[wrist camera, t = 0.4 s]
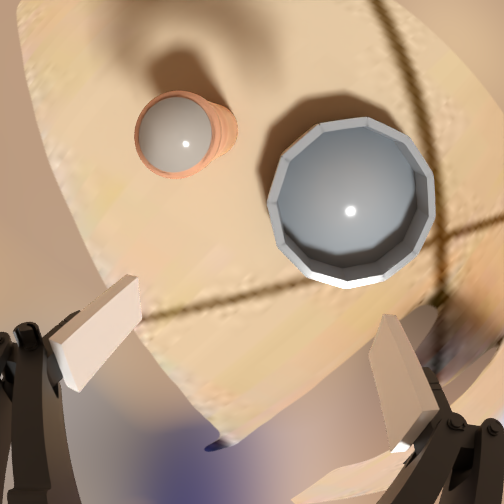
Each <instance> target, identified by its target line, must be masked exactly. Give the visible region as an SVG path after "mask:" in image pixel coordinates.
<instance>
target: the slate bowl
mask: <svg viewBox="0 0 504 504" xmlns="http://www.w3.org/2000/svg"><path fill="white" fill-rule="evenodd" d="M432 174H433V173H432V171H431V169H430V168H429V166H428V165H427V163H426V161H425V160H424V158H423V156H422V155H421V153H420V152H419V150H418V149H417V147H416V146H415V144H414V143H413V141H412V140H411V138H410V137H409V136H407V135H405V134H403V133H401V132H399V131H397V130H395V129H393V128H391V127H389V126H387V125H385V124H383V123H381V122H378V121H376V120H374V119H372V118H369V117H357V118H349V119H342V120H335V121H329V122H322V123H316V124H314V125H313V126H312V127H311V128H310V129H308V130H307V131H306V132H305V133H304V134H302V135H301V136H300V137H298V138H297V139H296V140H295V141H294V142H293V143H292V144H291V145H290V146H289V147H288V148H287V149H285V150H284V151H283V152H282V154H281V156H280V159H279V162H278V165H277V168H276V171H275V174H274V178H273V181H272V184H271V187H270V191H269V194H268V198H267V207H268V211H269V215H270V219H271V223H272V228H273V232H274V236H275V240H276V245H277V246H278V249H279V250H280V251H281V252H282V253H283V254H284V255H285V256H286V257H287V258H288V259H289V260H290V261H291V262H292V263H293V264H294V265H295V266H296V267H297V268H298V269H299V270H300V271H301V272H302V273H303V274H304V275H305V276H306V277H307V278H310V279H313V280H317V281H320V282H324V283H327V284H331V285H334V286H337V287H341V288H344V289H345V288H346V289H348V288H353V287H358V286H363V285H368V284H373V283H377V282H382V281H385V280H387V279H388V278H390V277H391V276H392V275H394V274H395V273H396V272H397V271H399V270H400V269H401V268H403V267H404V266H405V265H406V264H408V263H409V262H410V261H411V260H413V259H414V258H415V257H416V256H417V255H418V254H419V252H420V250H421V248H422V245H423V243H424V241H425V239H426V237H427V235H428V233H429V231H430V229H431V226H432V224H433V222H434V220H435V218H434V217H435V190H434V175H432ZM416 254H417V255H416Z"/></svg>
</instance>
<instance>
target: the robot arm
mask: <svg viewBox="0 0 504 504" xmlns="http://www.w3.org/2000/svg"><path fill="white" fill-rule="evenodd" d="M141 319H142V313H141V304H140V293H139V281H138V277H137V276H132V275H125V276H124V277H123V278H121V279H120V280H119V281H118V282H116V283H115V284H114V285H113V286H111V287H110V288H109V289H107V290H106V291H105V292H104V293H102V294H101V295H100V296H99V297H98V298H96V299H95V300H94V301H93V302H92V303H90V304H89V305H88V306H87V307H85V308H84V309H83V310H82V311H80V310H79V311H76V312H74V313H72V314H70V315H69V316H67V317H66V318H65V319H64V321H61V322H60V323H59V325H57V326H55V327H54V328H53V329H52V330H51V331H49V333H47V334H46V335H45V336H44V337H42V336H41V333H40V330H39V327H38V325H37V324H36V323H33V322H25V323H22V324H20V325H18V326H17V327H16V328H15V329H14V331H13V333H14V336H15V338H16V341H17V343H13V342H12V341H11V339H10V336H9V335H8V333H6V332H0V376H1V373H2V375H3V379H2V380H1V379H0V504H2V499H3V489H4V480H5V473H6V467H7V461H8V455H9V450H10V445H11V446H12V464H13V476H14V488H13V489H11V490H9V491H8V493H7V500H8V504H81V500H80V497H79V494H78V489H77V486H76V482H75V478H74V474H73V469H72V465H71V460H70V454H69V449H68V443H67V437H66V431H65V423H64V414H63V405H62V393H61V385H60V383H59V381H60V380H61V379H62V378H64V381H65V383H66V385H67V387H69V388H71V389H73V390H75V391H77V392H80V391H81V390H82V389H83V387H84V386H85V385H86V384H87V383H88V381H89V380H90V379H91V378H92V377H93V375H94V374H95V373H96V372H97V371H98V369H99V368H100V367H101V366H102V365H103V363H104V362H105V361H106V360H107V359H108V357H109V356H110V355H111V354H112V353H113V352H114V351H115V349H116V348H117V347H118V346H119V345H120V343H121V342H122V341H123V340H124V339H125V338H126V337H127V335H128V334H129V333H130V332H131V331H132V330H133V329H134V327H135V326H136V325H137V324H138V323H139V322H140V321H141ZM368 357H369V361H370V364H371V368H372V372H373V376H374V380H375V384H376V388H377V392H378V396H379V400H380V405H381V409H382V413H383V418H384V422H385V427H386V432H387V437H388V442H389V447H390V453H394V452H405V451H407V450H408V449H409V448H410V447H411V446H412V444H414V448H415V451H414V452H413V453H412V454H411V456H410V457H409V458H408V459H407V460H406V461H405V462H404V463H403V464H405V465H404V467H403V468H402V470H401V471H400V473H399V474H398V476H397V477H396V478H395V480H394V481H393V483H392V484H391V485H390V487H389V488H388V489H387V491H386V492H385V494H384V495H383V496H382V497H381V499H380V500H379V501H378V502H377V503H376V504H434V503H435V501H436V499H437V497H438V495H439V493H440V491H441V490H442V488H443V490H442V494H441V498H440V502H439V504H501V501H502V493H503V483H504V482H503V481H504V428H503V426H502V424H501V423H500V422H499V421H498V420H496V419H493V418H488V419H486V420H485V421H484V422H483V423H482V424H481V426H476V425H469V424H467V422H466V420H465V419H464V418H463V417H462V416H461V415H460V414H457V413H454V412H452V410H451V408H450V406H449V404H448V401H447V399H446V397H445V394H444V392H443V391H442V388H441V386H440V384H439V381H438V379H437V377H436V375H435V374H434V373H433V372H432V371H431V370H430V369H429V367H421V365H420V363H419V361H418V358H417V356H416V354H415V352H414V350H413V348H412V346H411V344H410V342H409V340H408V338H407V336H406V334H405V332H404V330H403V328H402V326H401V324H400V322H399V320H398V318H397V316H396V315H388V314H383V316H382V319H381V322H380V325H379V327H378V330H377V333H376V336H375V339H374V341H373V344H372V346H371V349H370V351H369V354H368Z"/></svg>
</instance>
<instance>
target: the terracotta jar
mask: <svg viewBox="0 0 504 504" xmlns="http://www.w3.org/2000/svg"><path fill="white" fill-rule="evenodd" d="M237 135H238V125H237V121H236V119H235V117H234V115H233V114H232V113H231V111H230V110H228V109H227V108H226V107H224V106H222V105H219V104H216V103H213V102H210V101H207V100H206V99H205V98H203V97H201V96H200V95H197V94H195V93H192V92H188V91H180V90H179V91H170V92H166V93H163V94H161V95H159V96H157V97H156V98H154V99H153V100H151V101H150V102H149V103H148V104H147V105H146V106H145V108H144V109H143V110H142V112H141V114H140V115H139V117H138V120H137V123H136V126H135V135H134V139H135V146H136V150H137V153H138V155H139V157H140V159H141V160H142V162H143V163H144V164H145V165H146V167H147V168H149V169H150V170H151V171H152V172H154V173H155V174H157V175H159V176H162V177H165V178H170V179H179V178H185V177H189V176H191V175H193V174H195V173H197V172H199V171H201V170H202V169H203V168H205V167H206V166H207V165H208V164H209V163H210V162H211V161H212V160H214V159H216V158H218V157H220V156H222V155H224V154H225V153H227V152H228V151H229V150H230V149H231V148H232V146H233V145H234V143H235V141H236V139H237Z"/></svg>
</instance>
